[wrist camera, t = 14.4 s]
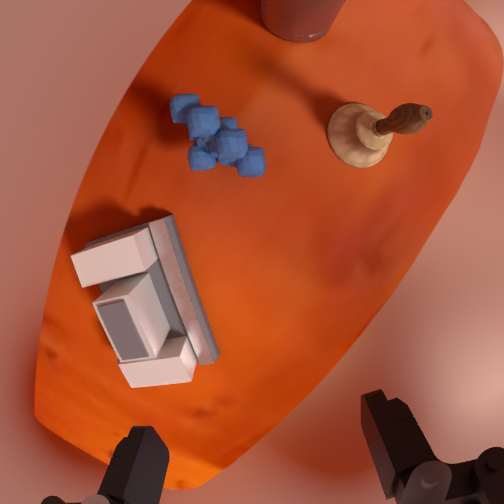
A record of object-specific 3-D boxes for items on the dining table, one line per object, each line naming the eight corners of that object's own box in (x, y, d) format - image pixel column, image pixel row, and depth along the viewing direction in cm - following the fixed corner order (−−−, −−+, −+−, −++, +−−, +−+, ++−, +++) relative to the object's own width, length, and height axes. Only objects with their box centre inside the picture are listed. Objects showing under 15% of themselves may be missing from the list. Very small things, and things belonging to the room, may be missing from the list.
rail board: (89, 241, 36) (63, 254, 29) (173, 214, 35) (156, 222, 28) (140, 364, 40) (127, 390, 34) (219, 352, 40) (215, 381, 33)
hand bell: (348, 179, 34) (416, 185, 18) (314, 120, 32) (361, 82, 17) (398, 150, 33) (480, 142, 17) (366, 94, 31) (434, 52, 15)
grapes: (165, 141, 32) (125, 127, 21) (201, 99, 31) (177, 64, 20) (238, 201, 34) (231, 215, 23) (276, 158, 33) (289, 149, 22)
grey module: (116, 281, 35) (90, 304, 28) (148, 272, 35) (126, 295, 28) (138, 334, 37) (119, 364, 30) (170, 328, 37) (155, 359, 30)
